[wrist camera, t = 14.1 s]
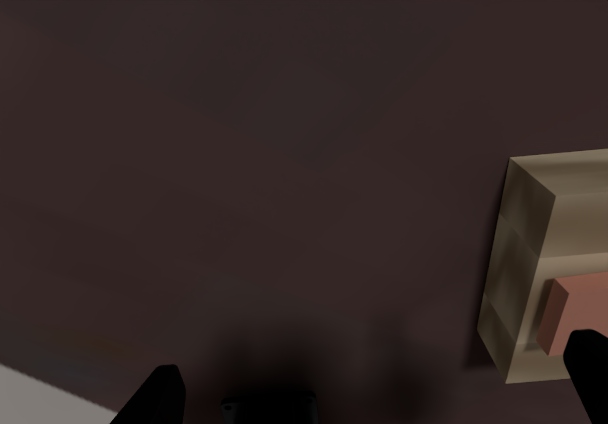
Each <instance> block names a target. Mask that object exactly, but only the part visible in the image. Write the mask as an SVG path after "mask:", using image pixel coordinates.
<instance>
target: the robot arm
mask: <svg viewBox="0 0 608 424" xmlns="http://www.w3.org/2000/svg"><path fill="white" fill-rule="evenodd" d="M563 361H564V365H565V367H566V369H567V371H568V373H569V376H570V378H571V380H572V382H573V384H574V386H575V388H576V391H577V393H578V395H579V397H580V399H581V401H582V403H583V406H584V408H585V410H586V412H587V414H588V416H589V419H590V421H591V423H592V424H608V337H606V336H604V335H603V334H601V333H599V332H598V331H596V330H593V329H578V330H573V331H572V332H571V333H570V336H569V338H568V341H567V344H566V347H565V349H564V352H563ZM185 398H186V390H185V385H184V382H183V380H182V377H181V374H180V371H179V369H178V367H177V366H176V365H174V364H171V365H161V366H158V367H157V368H156V369H155V370H154V371H153V372H152V373H151V375H150V376H149V377H148V378H147V379H146V381H145V382H144V383H143V384H142V385H141V387H140V388H139V389H138V390H137V391H136V393H135V394H134V395H133V396H132V397H131V399H130V400H129V401H128V402H127V403H126V404H125V406H124V407H123V408H122V409H121V410H120V412H119V413H118V414H117V415H116V416H115V418H114V419H113V420H112V421H111V423H110V424H183V415H184V406H185ZM221 411H222V415H223V418H224V421H225V424H319V421H318V412H317V402H316V395H315V393H314V392H312V391H304V392H292V393H280V394H268V395H256V396H245V397H233V398H225V399H223V400H222V401H221Z"/></svg>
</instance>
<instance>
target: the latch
mask: <svg viewBox="0 0 608 424" xmlns="http://www.w3.org/2000/svg"><path fill="white" fill-rule="evenodd" d="M578 329H593V330H596V331H598V332H599V333H601V334H603V335H604V336H606V337H608V272H600V273H592V274H585V275H577V276H569V277H561V278H555V279H554V282H553V285H552V289H551V292H550V295H549V298H548V302H547V305H546V308H545V312H544V315H543V318H542V321H541V325H540V328H539V331H538V335H537V338H536V341H537V343H538V344H539V345H540V347H541V348H542V349H543V351H544V352H545V353H546V354H547V356H555V355H563V352H564V349H565V347H566V344H567V341H568V338H569V336H570V333H571V332H572V331H573V330H578Z"/></svg>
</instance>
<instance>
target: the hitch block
mask: <svg viewBox="0 0 608 424" xmlns="http://www.w3.org/2000/svg"><path fill="white" fill-rule="evenodd" d="M600 272H608V149H599V150H588V151H577V152H566V153H555V154H544V155H532V156H521V157H510V160H509V165H508V170H507V175H506V180H505V186H504V191H503V196H502V201H501V206H500V212H499V217H498V222H497V227H496V232H495V237H494V243H493V248H492V253H491V258H490V263H489V268H488V274H487V279H486V284H485V289H484V294H483V300H482V305H481V310H480V315H479V320H478V325H477V331H478V333H479V335H480V337H481V338H482V340H483V342H484V344H485V346H486V348H487V350H488V352H489V354H490V355H491V357H492V359H493V361H494V363H495V365H496V367H497V369H498V370H499V372H500V374H501V376H502V378H503V380H504V382H505V384H507V383H519V382H531V381H543V380H555V379H566V378H570V376H569V373H568V371H567V369H566V367H565V365H564V361H563V355H555V356H547V354H546V353H545V352H544V351H543V349H542V348H541V347H540V345H539V344H538V343H537V341H536V338H537V335H538V331H539V328H540V325H541V321H542V318H543V315H544V312H545V308H546V305H547V302H548V298H549V295H550V292H551V289H552V285H553V282H554V279H555V278H561V277H569V276H577V275H585V274H592V273H600Z"/></svg>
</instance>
